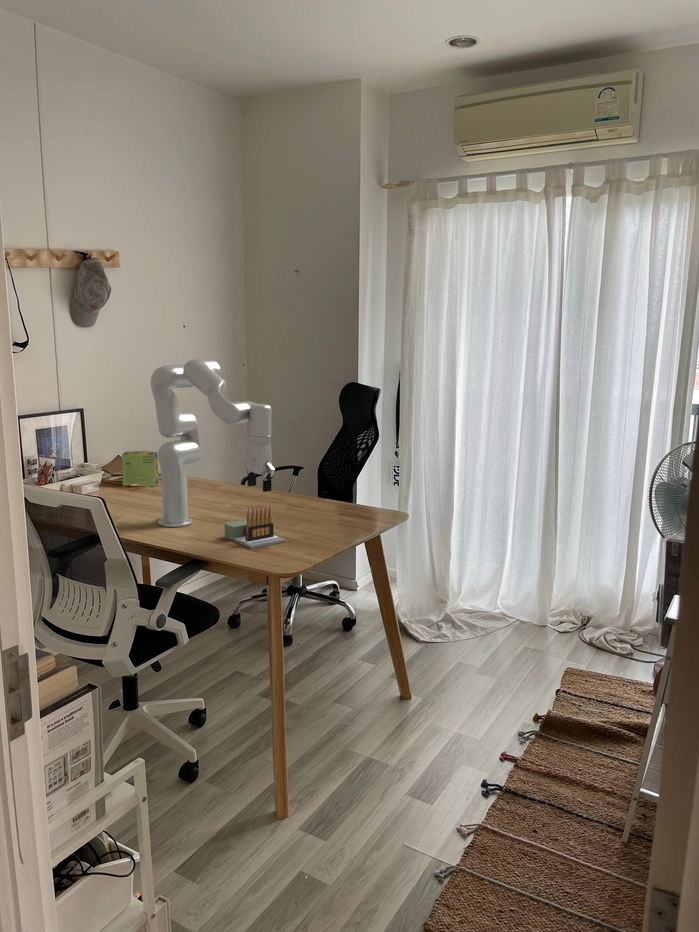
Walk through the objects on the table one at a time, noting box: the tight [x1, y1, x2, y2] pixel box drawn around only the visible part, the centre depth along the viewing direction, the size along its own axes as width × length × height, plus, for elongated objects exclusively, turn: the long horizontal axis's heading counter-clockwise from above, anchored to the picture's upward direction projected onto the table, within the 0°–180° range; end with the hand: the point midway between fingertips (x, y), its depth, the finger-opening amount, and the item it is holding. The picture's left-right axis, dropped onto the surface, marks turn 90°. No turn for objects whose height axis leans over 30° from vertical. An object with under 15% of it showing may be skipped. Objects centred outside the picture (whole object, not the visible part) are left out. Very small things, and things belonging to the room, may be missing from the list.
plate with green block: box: [224, 519, 286, 550], centre depth 262 cm, size 18×14×5 cm
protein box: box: [121, 450, 160, 487], centre depth 346 cm, size 10×15×16 cm
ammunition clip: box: [245, 503, 275, 542], centre depth 259 cm, size 11×2×12 cm, turn 129°
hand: (259, 488), depth 257 cm, fingers open, 9 cm apart
